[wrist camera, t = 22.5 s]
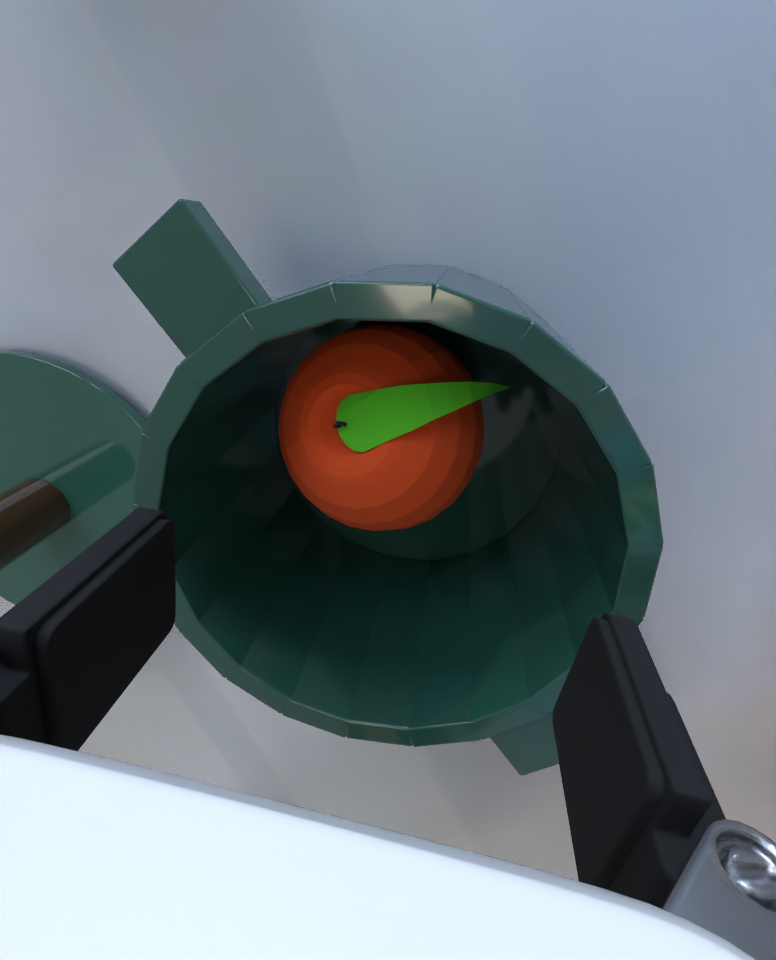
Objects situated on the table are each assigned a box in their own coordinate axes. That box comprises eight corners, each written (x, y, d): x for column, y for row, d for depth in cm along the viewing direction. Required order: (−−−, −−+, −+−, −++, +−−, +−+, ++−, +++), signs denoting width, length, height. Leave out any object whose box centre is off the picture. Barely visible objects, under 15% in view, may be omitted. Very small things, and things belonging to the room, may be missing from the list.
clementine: (497, 311, 20) (464, 240, 13) (545, 488, 20) (537, 507, 13) (313, 377, 22) (207, 345, 16) (354, 535, 22) (264, 572, 16)
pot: (424, 110, 18) (380, -24, 9) (665, 529, 23) (793, 713, 14) (160, 337, 23) (-44, 400, 14) (409, 645, 28) (380, 841, 19)
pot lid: (37, 279, 22) (-123, 293, 16) (256, 538, 26) (193, 626, 20) (-128, 451, 27) (-298, 511, 21) (77, 647, 31) (-18, 745, 25)
